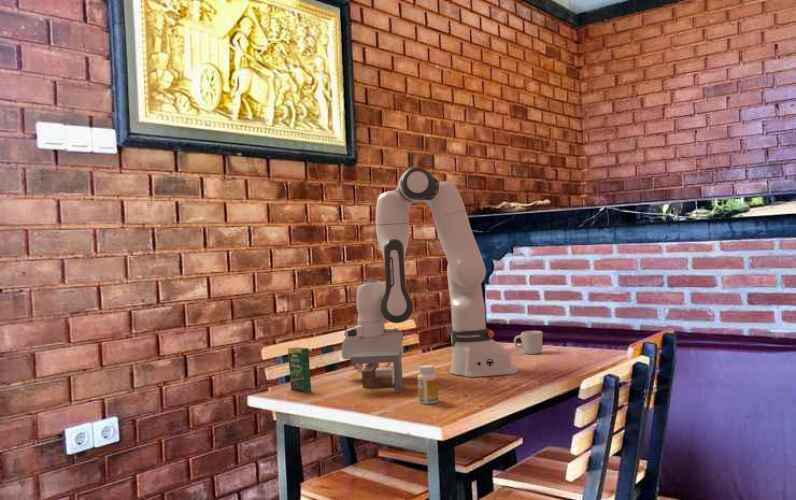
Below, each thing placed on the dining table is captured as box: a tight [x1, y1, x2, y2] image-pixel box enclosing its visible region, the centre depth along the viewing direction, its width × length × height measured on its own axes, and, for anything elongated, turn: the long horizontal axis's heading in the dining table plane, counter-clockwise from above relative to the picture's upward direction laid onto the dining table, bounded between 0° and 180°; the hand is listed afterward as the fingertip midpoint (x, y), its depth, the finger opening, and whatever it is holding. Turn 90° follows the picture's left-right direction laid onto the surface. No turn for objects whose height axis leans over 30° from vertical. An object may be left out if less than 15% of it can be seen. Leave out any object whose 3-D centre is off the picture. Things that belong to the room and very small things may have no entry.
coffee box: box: [287, 346, 312, 393], centre depth 201 cm, size 8×3×13 cm, turn 42°
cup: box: [513, 330, 544, 355], centre depth 244 cm, size 11×8×8 cm
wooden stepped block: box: [361, 363, 394, 389], centre depth 206 cm, size 9×16×5 cm, turn 174°
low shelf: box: [350, 351, 404, 394], centre depth 193 cm, size 14×8×11 cm, turn 84°
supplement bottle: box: [417, 364, 440, 405], centre depth 176 cm, size 5×5×10 cm
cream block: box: [375, 366, 395, 385], centre depth 203 cm, size 5×5×5 cm
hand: (373, 371), depth 213 cm, fingers open, 8 cm apart
